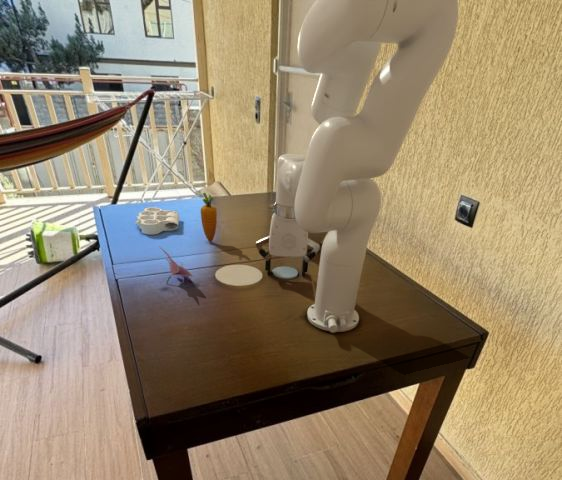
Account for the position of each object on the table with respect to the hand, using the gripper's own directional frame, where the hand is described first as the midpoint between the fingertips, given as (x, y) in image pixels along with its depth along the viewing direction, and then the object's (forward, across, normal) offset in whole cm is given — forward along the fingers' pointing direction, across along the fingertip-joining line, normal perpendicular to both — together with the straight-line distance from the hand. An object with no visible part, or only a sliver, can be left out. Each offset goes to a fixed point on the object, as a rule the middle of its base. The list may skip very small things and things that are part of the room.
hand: (286, 273), depth 110 cm
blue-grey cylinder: (+1, 0, 0) cm, 1 cm away
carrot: (+1, -24, +23) cm, 33 cm away
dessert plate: (+1, -13, -2) cm, 13 cm away
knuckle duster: (+1, -44, +36) cm, 57 cm away
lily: (+2, -28, -7) cm, 29 cm away
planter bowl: (+1, +7, +25) cm, 26 cm away
